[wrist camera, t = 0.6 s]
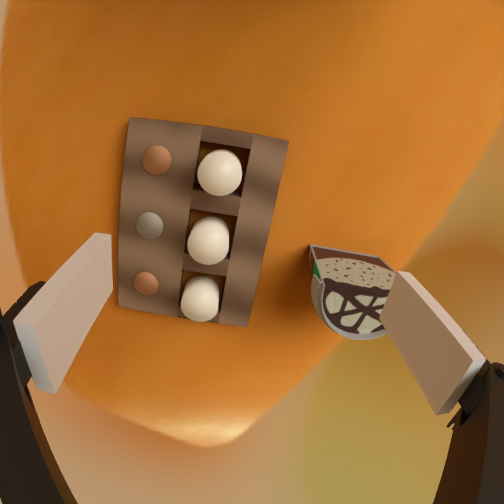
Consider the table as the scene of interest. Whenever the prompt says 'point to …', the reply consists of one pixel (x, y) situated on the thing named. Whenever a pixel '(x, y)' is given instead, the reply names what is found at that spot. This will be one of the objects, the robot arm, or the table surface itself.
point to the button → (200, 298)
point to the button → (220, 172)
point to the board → (178, 216)
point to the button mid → (209, 240)
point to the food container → (350, 290)
